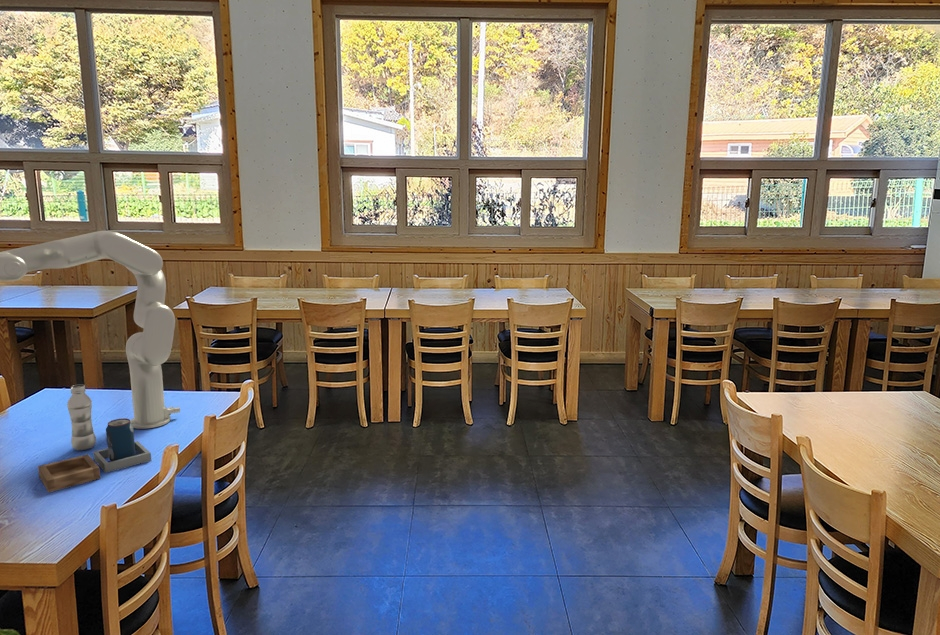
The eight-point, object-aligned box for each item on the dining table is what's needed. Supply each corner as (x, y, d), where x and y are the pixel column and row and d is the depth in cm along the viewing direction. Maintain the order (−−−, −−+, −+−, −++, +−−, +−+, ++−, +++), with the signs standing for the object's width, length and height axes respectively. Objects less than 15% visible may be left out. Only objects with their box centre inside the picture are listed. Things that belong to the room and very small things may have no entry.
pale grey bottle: (70, 454, 183) (63, 390, 179) (73, 446, 189) (66, 384, 185) (95, 450, 186) (89, 388, 182) (97, 442, 192) (91, 382, 188)
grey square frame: (138, 448, 188) (137, 441, 187) (151, 460, 179) (150, 452, 179) (94, 459, 179) (93, 451, 179) (105, 472, 171) (104, 464, 171)
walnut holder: (89, 464, 176) (87, 454, 175) (100, 478, 168) (99, 467, 167) (39, 477, 168) (37, 466, 167) (48, 492, 159) (47, 480, 159)
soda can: (140, 455, 183) (137, 417, 181) (128, 465, 176) (124, 426, 174) (117, 455, 183) (113, 417, 180) (104, 465, 176) (100, 426, 174)
